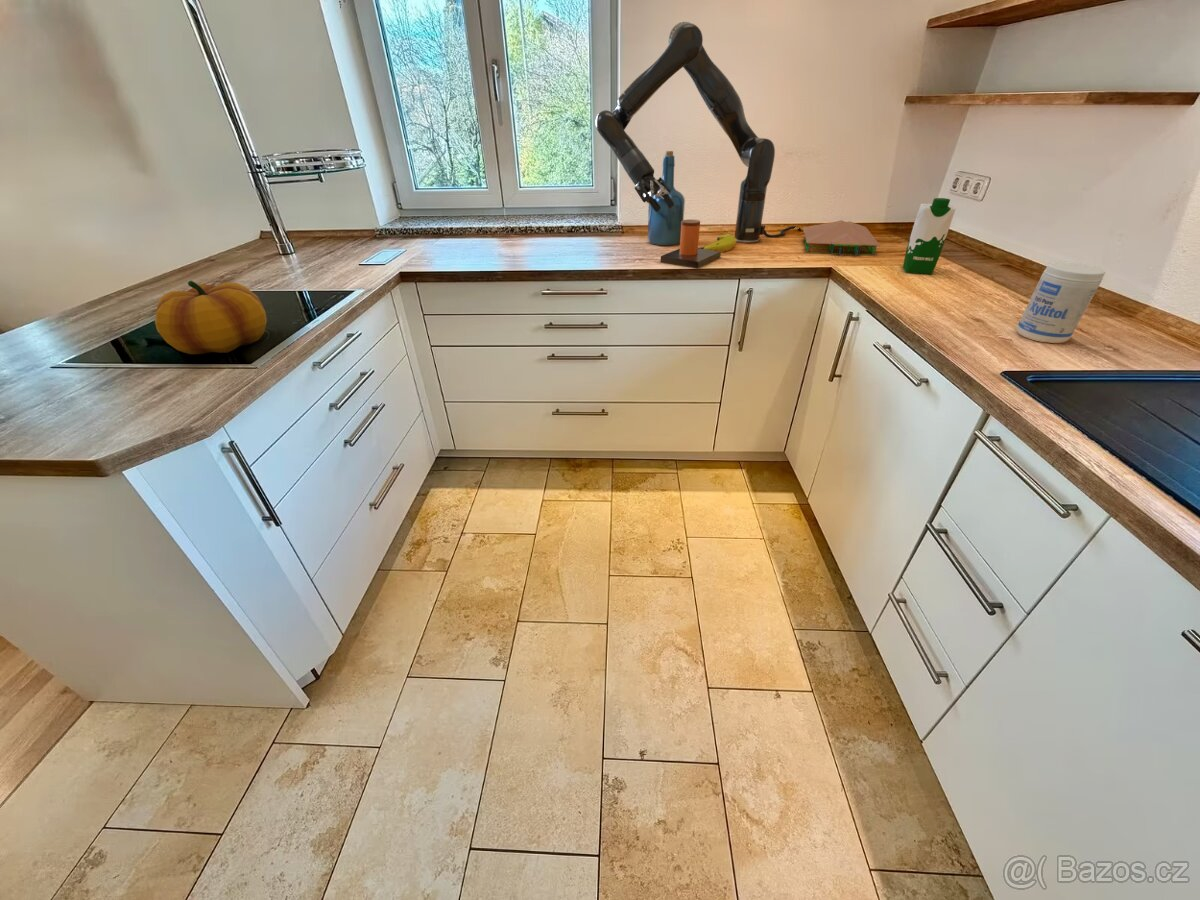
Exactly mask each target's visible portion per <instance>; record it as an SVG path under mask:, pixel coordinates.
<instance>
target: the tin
mask: <svg viewBox="0 0 1200 900" xmlns="http://www.w3.org/2000/svg"><path fill="white" fill-rule="evenodd" d="M700 228H701V221H700V220H699V219H684V220H683V221H681V237H680V243H679V249H680V254H681V255H687V256H690V255H696V254H698V248H699V240H700V231H701V229H700Z"/></svg>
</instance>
